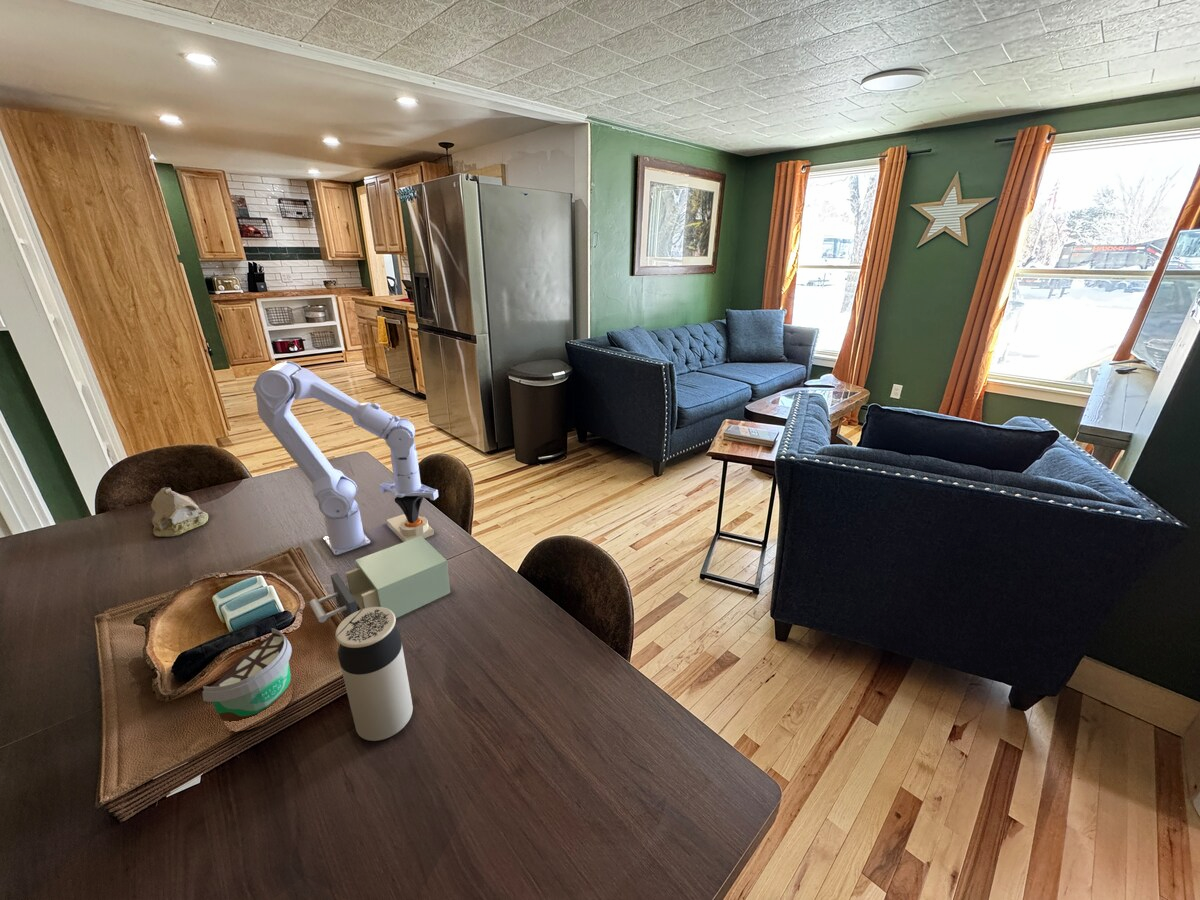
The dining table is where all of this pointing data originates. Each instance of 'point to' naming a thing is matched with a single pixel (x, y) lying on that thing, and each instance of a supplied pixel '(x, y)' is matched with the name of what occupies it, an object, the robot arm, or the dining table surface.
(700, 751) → the dining table surface
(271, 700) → the food container
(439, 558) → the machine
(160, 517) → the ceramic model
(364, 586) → the compartment
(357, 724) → the travel mug
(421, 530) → the control block
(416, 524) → the button
